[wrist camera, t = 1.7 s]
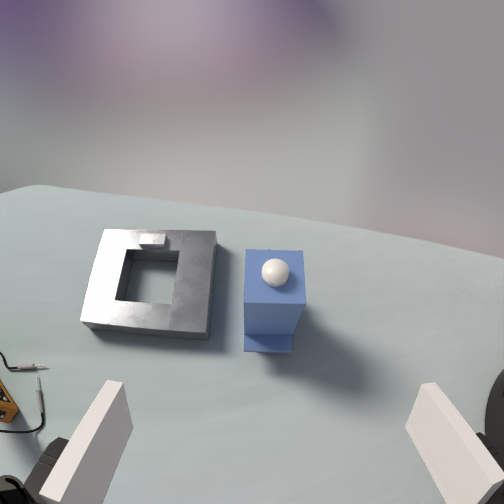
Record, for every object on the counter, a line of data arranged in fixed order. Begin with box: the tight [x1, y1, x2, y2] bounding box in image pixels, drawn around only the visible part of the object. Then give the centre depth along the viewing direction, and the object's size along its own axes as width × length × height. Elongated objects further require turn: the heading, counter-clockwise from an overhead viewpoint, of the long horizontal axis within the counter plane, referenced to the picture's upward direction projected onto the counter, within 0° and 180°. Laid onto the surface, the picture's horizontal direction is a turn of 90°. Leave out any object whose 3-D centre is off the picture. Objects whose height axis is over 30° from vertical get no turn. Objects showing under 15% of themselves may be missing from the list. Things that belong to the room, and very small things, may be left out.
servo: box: [244, 249, 306, 352], centre depth 28 cm, size 4×8×12 cm, turn 179°
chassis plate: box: [80, 229, 217, 340], centre depth 34 cm, size 14×12×3 cm
